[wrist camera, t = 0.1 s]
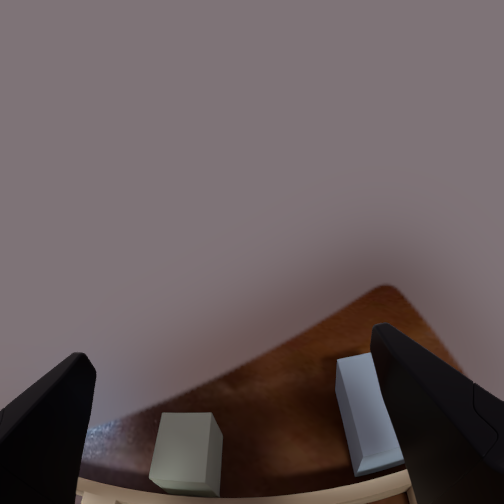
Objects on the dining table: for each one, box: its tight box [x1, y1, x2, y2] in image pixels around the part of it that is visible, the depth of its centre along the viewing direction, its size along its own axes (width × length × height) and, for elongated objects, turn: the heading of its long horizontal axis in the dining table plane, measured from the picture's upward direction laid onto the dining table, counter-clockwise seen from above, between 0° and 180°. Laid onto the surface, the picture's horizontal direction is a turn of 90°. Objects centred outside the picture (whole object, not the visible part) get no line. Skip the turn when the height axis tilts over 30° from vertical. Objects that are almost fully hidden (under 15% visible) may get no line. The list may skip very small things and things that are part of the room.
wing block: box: [335, 353, 405, 477], centre depth 19 cm, size 9×4×4 cm, turn 0°
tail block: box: [149, 412, 223, 497], centre depth 18 cm, size 6×4×4 cm, turn 1°
